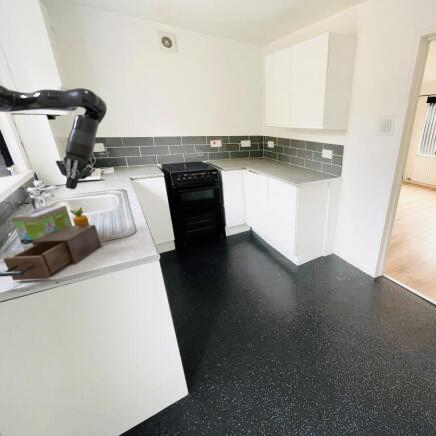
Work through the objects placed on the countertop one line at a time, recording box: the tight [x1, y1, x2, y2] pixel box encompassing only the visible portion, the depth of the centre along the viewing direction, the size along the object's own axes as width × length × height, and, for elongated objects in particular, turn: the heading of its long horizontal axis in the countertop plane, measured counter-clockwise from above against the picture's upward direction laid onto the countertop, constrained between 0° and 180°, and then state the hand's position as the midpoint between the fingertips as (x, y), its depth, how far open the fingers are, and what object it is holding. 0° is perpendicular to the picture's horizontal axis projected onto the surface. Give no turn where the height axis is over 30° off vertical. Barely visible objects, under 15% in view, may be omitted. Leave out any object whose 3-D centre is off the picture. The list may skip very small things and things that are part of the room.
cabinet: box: [32, 224, 102, 265], centre depth 93 cm, size 15×12×10 cm
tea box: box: [11, 205, 73, 251], centre depth 103 cm, size 15×10×15 cm
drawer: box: [0, 242, 72, 281], centre depth 81 cm, size 18×10×8 cm, turn 4°
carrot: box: [69, 206, 90, 226], centre depth 105 cm, size 5×5×15 cm
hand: (70, 188), depth 91 cm, fingers closed
